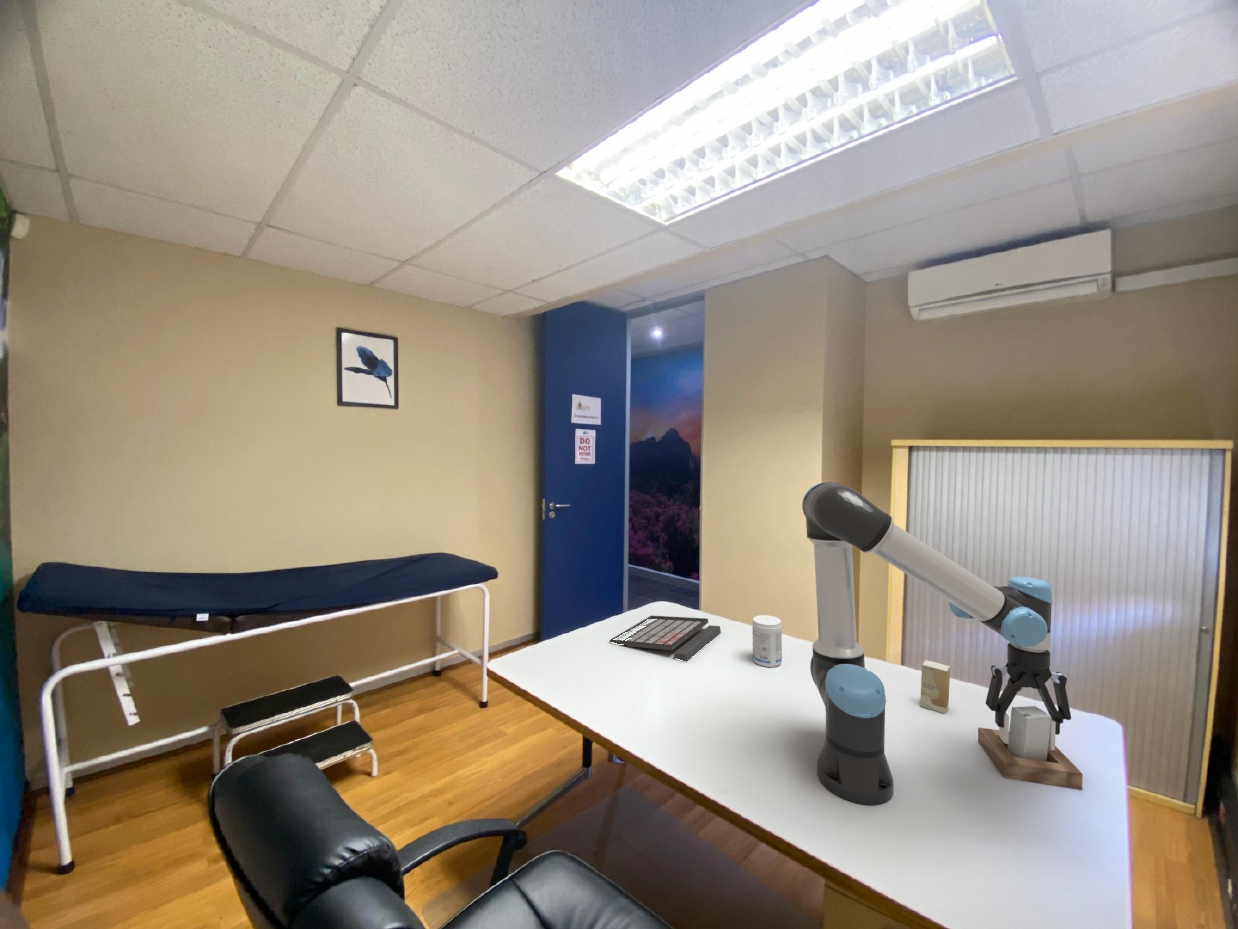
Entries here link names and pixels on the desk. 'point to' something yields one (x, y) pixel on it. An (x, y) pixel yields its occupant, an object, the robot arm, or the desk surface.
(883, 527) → the robot arm
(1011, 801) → the desk surface
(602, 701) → the desk surface
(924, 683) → the skincare box
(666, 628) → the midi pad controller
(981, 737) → the socket block
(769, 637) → the supplement tub
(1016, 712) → the skincare box
